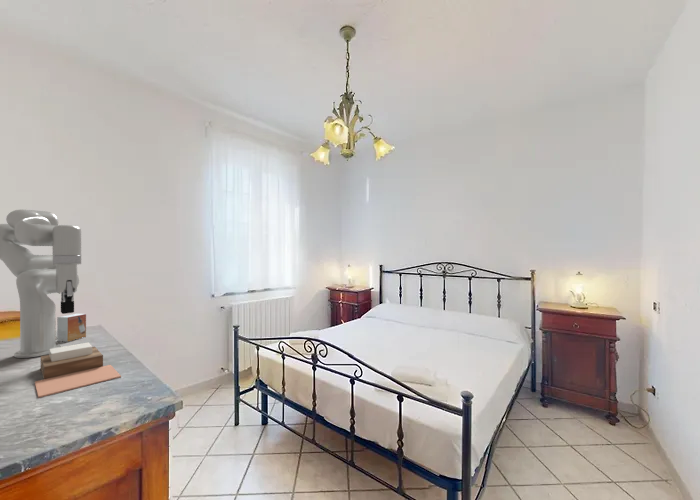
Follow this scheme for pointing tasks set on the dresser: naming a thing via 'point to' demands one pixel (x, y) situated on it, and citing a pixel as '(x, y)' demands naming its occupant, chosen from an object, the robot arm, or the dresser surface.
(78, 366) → the block
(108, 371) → the mat
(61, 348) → the tile
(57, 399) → the dresser surface
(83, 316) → the small box
